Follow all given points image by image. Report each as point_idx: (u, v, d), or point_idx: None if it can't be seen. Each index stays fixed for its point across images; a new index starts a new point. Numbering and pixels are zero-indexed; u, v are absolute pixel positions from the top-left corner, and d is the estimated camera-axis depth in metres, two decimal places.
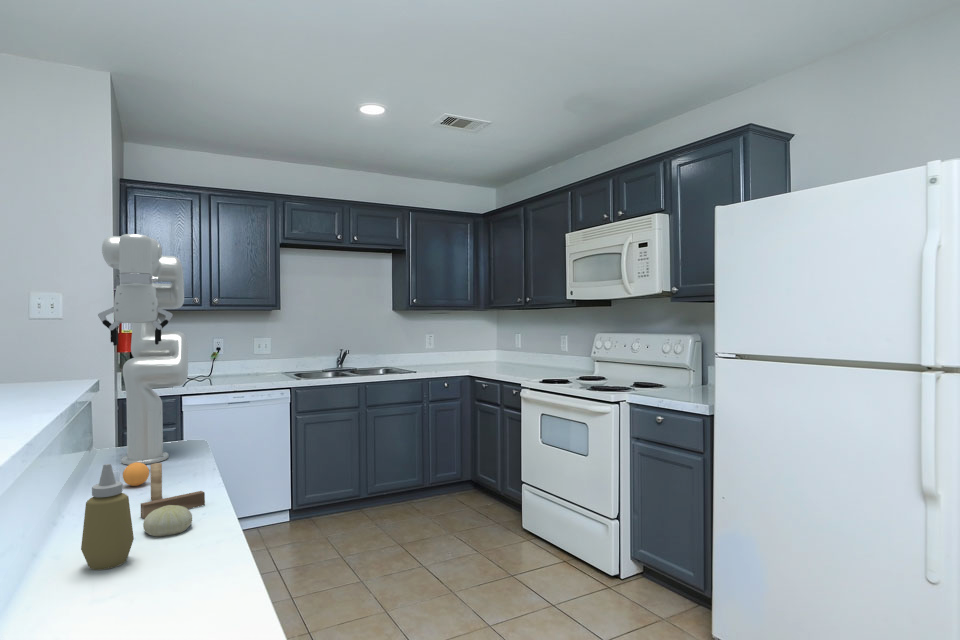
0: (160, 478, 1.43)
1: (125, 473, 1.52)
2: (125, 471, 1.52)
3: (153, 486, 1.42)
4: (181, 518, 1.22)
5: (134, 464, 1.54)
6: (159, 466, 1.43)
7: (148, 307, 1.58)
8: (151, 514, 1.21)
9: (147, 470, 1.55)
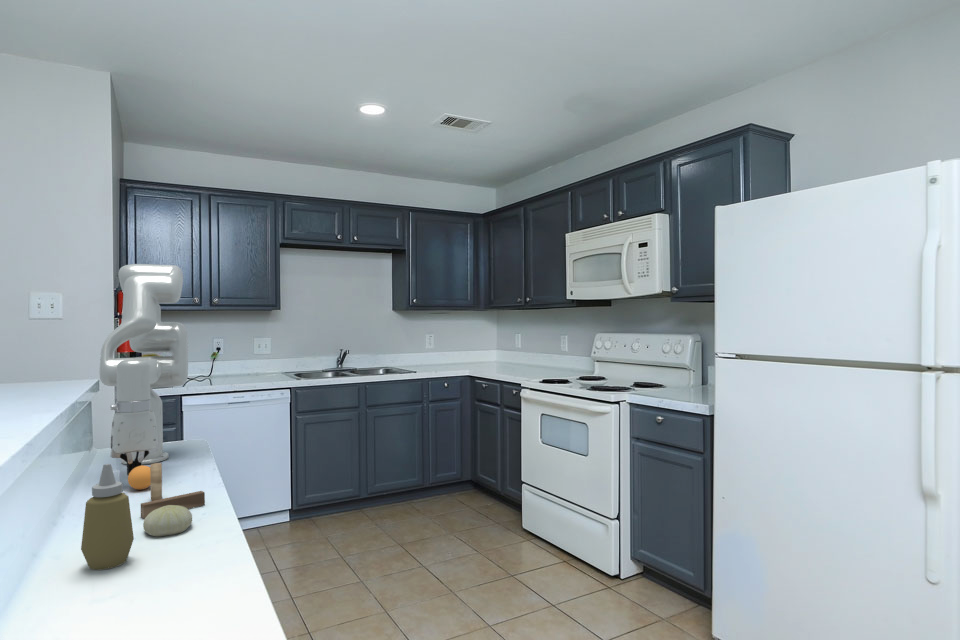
0: (160, 478, 1.43)
1: (130, 482, 1.49)
2: (131, 481, 1.49)
3: (153, 486, 1.42)
4: (181, 518, 1.22)
5: (142, 479, 1.49)
6: (159, 466, 1.43)
7: None
8: (151, 514, 1.21)
9: None
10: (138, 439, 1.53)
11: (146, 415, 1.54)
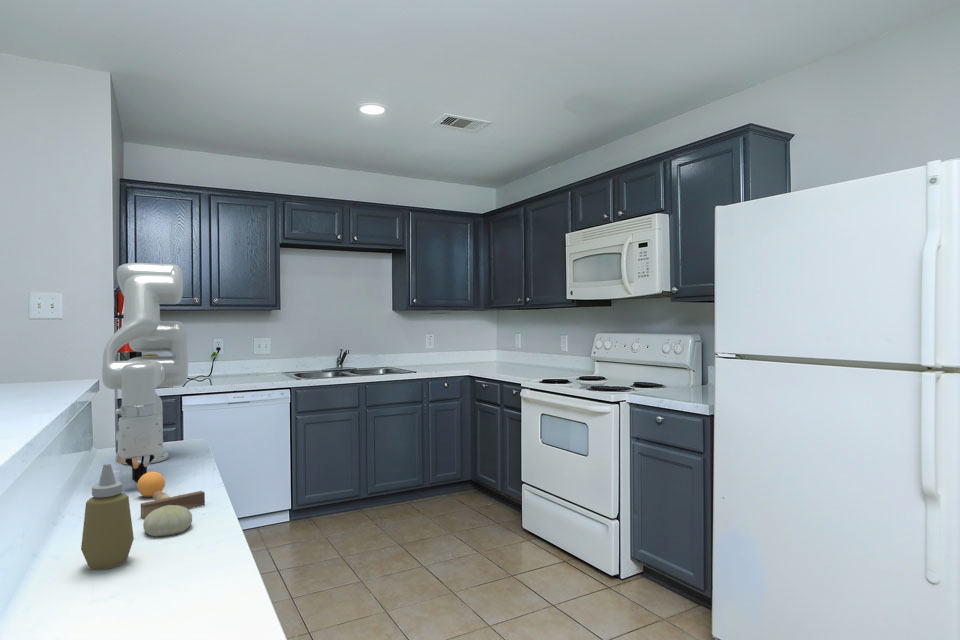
0: None
1: None
2: None
3: None
4: (181, 518, 1.22)
5: None
6: None
7: None
8: (151, 514, 1.21)
9: None
10: (144, 444, 1.51)
11: (151, 419, 1.52)
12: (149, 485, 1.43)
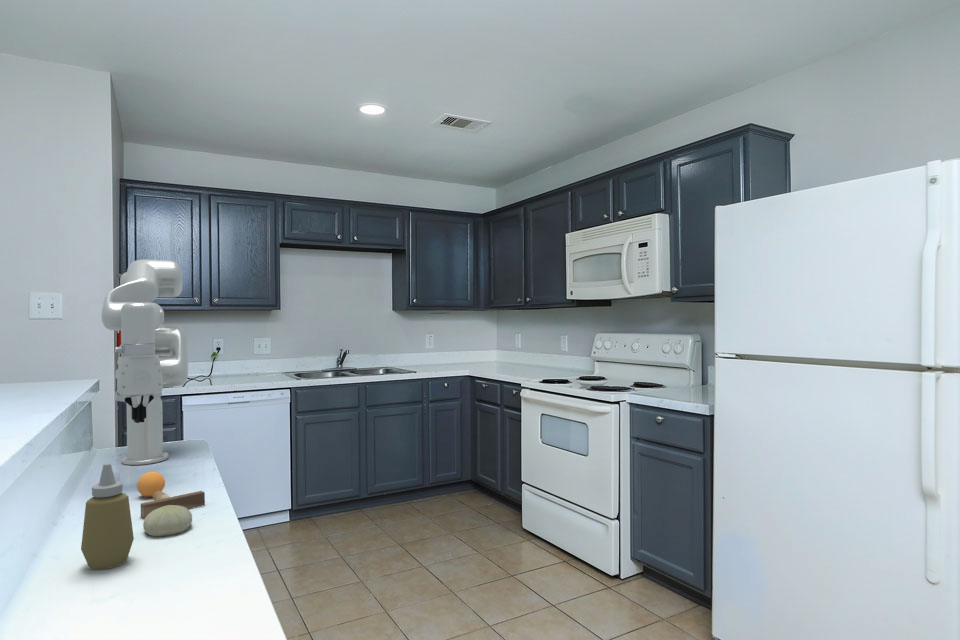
0: None
1: None
2: None
3: None
4: (181, 518, 1.22)
5: None
6: None
7: None
8: (151, 514, 1.21)
9: None
10: (143, 383, 1.51)
11: (151, 359, 1.52)
12: (149, 485, 1.43)
